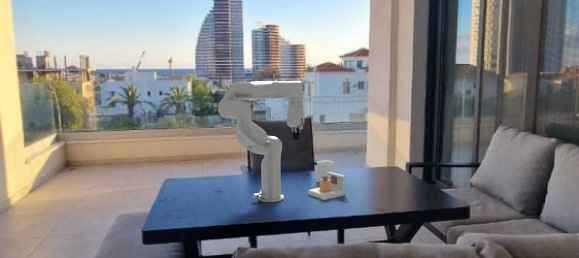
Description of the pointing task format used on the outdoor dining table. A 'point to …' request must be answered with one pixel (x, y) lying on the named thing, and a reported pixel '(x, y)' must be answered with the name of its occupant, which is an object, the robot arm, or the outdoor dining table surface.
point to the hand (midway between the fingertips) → (296, 139)
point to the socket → (336, 187)
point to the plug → (325, 184)
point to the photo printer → (324, 169)
